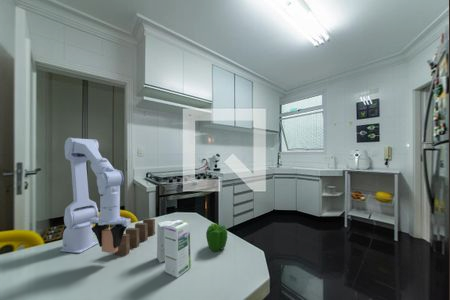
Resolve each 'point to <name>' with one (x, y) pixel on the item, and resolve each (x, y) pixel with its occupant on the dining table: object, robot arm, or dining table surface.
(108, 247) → the domino
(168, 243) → the syrup box
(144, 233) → the domino
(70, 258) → the dining table surface
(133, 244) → the domino
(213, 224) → the bell pepper
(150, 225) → the domino
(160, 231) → the skincare box
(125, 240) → the domino
